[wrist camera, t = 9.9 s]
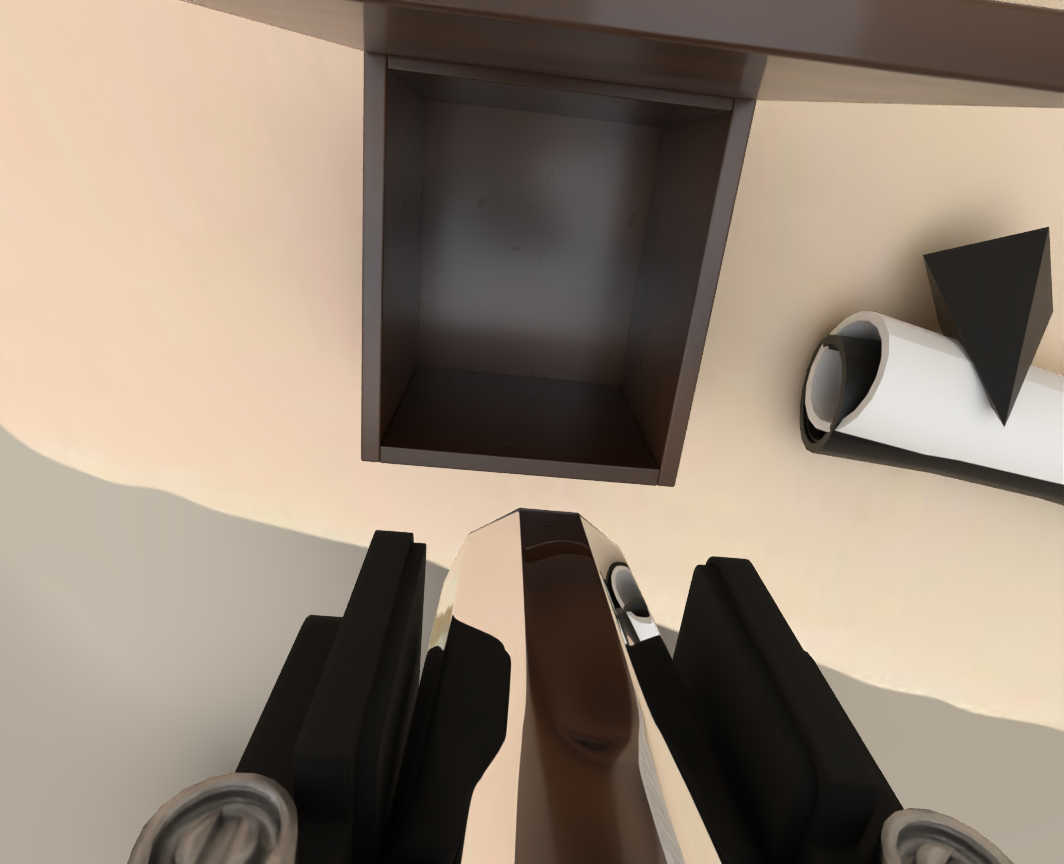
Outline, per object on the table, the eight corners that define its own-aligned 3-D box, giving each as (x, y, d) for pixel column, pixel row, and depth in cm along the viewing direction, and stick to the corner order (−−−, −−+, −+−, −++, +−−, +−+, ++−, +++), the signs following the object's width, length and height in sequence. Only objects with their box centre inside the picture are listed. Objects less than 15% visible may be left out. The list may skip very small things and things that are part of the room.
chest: (628, 395, 40) (674, 487, 28) (404, 374, 39) (360, 461, 28) (677, 113, 34) (759, 88, 23) (414, 81, 33) (363, 38, 22)
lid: (1215, 112, 8) (1256, 35, 7) (27, -41, 7) (6, -139, 6) (761, 100, 22) (767, 74, 22) (360, 50, 21) (360, 22, 21)
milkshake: (733, 489, 11) (1851, 2048, 2) (590, 707, 13) (828, 2060, 4) (491, 386, 10) (467, 2505, 1) (372, 637, 12) (-30, 2231, 3)
